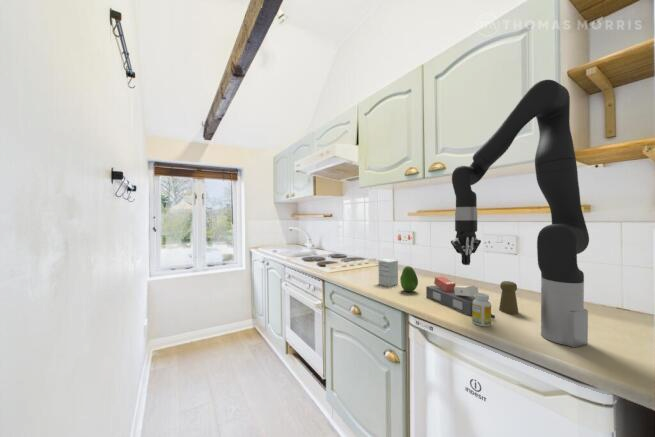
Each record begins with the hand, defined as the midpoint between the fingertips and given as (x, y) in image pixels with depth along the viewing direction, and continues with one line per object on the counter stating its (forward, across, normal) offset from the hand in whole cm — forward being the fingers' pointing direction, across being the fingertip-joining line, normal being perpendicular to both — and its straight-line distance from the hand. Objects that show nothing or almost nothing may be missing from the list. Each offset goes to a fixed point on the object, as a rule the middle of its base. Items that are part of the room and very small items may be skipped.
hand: (466, 264), depth 101 cm
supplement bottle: (+17, -6, -12) cm, 22 cm away
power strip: (+17, 0, +3) cm, 17 cm away
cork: (+17, +13, -7) cm, 23 cm away
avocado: (+17, -6, +27) cm, 33 cm away
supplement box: (+17, -8, +42) cm, 46 cm away
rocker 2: (+11, 0, 0) cm, 11 cm away
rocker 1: (+11, 0, +11) cm, 16 cm away
